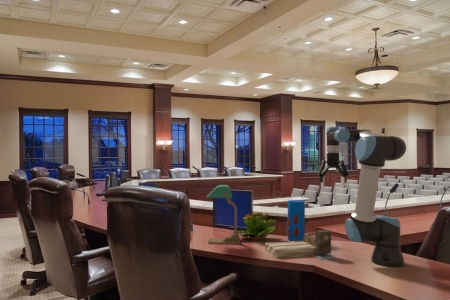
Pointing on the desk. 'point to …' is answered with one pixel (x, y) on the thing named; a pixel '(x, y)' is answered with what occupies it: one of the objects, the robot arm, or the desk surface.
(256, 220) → the potted flower
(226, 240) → the banker's lamp
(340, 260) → the desk surface
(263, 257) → the desk surface
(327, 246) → the marking gauge
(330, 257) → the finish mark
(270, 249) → the log raft
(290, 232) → the blue slotted block
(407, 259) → the desk surface
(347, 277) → the desk surface
